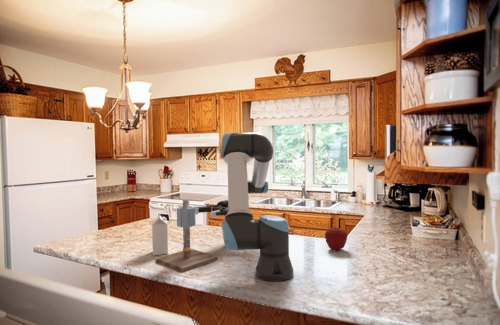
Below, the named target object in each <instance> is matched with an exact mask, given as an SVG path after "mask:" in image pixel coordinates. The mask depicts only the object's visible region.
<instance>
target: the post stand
mask: <svg viewBox="0 0 500 325" xmlns="http://www.w3.org/2000/svg"><path fill="white" fill-rule="evenodd" d="M189 206H190V199H188V198H187V199H182V207H183V209H189V208H190V207H189ZM182 231H183V232H182V234H183V235H182V237H183V240H182V241H183V243H182V244H183V247H182V250H180V251H177V252H174V253H170V254H165V255H164V256H159V257H156V258H155V263H158V264H161V265H163V266H165V267H169V268H172V269H173V270H177V271H179V272H182V273H183V272H186V271H187V272H188V271H190V270H192V269H196V268H197V267H198V268H199V267H201V266H204V265H207V264H210V263H212V262H216V261H218V260H219V256H217V255H214V254H211V253H207V252H203V251H200V250H197V249H194V248H191V227H182Z"/></svg>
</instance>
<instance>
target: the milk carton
mask: <svg viewBox="0 0 500 325" xmlns="http://www.w3.org/2000/svg"><path fill="white" fill-rule="evenodd" d="M151 228H152V229H151V231H152V232H151V234H152V256H158V255H160V256H161V255H169V248H168V247H169V246H168V245H169V242H168V236H169V235H168V234H169V233H168V231H169V230H168V219H167V217H165V216H161V213H159V216H158V217H157V218H155V219H154V220H153V221H152V225H151Z"/></svg>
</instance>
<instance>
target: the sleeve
mask: <svg viewBox="0 0 500 325" xmlns="http://www.w3.org/2000/svg"><path fill="white" fill-rule="evenodd" d="M189 207H190V208H189V209H183V206H178V207H177V208H176V226H177V227H179V228H183V227H190V228H191V227H195V226H196V217H197V216H196V214H195V207H196V206H192V205H189Z"/></svg>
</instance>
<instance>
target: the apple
mask: <svg viewBox="0 0 500 325" xmlns="http://www.w3.org/2000/svg"><path fill="white" fill-rule="evenodd" d="M324 236H325V237H324V238H325V242H326V244H327V247H328V248H329V249H330V250H332V251H334V252H338V251H341V250H342V249H344V247H345V246H346V243H347V240H348V234H347V232H346V231H345V229H343V228H340V227H336V226H335V227H329V228H327V230H326V231H325V233H324Z"/></svg>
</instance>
